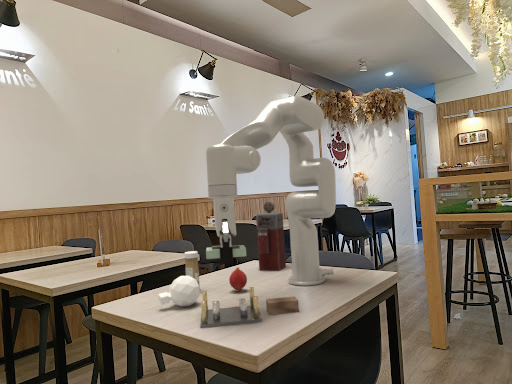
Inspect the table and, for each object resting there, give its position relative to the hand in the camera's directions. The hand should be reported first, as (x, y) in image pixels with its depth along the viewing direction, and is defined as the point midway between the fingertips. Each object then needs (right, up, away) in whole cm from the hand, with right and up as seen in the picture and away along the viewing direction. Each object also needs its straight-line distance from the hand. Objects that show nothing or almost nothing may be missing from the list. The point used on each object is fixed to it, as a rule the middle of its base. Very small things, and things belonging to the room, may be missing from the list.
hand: (226, 260), depth 100 cm
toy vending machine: (+14, -15, +60) cm, 63 cm away
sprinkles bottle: (-13, -16, +30) cm, 36 cm away
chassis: (+1, -15, 0) cm, 15 cm away
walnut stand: (+15, -14, +3) cm, 21 cm away
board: (0, +1, 0) cm, 1 cm away
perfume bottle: (-15, -16, +13) cm, 26 cm away
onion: (+2, -15, +26) cm, 30 cm away
